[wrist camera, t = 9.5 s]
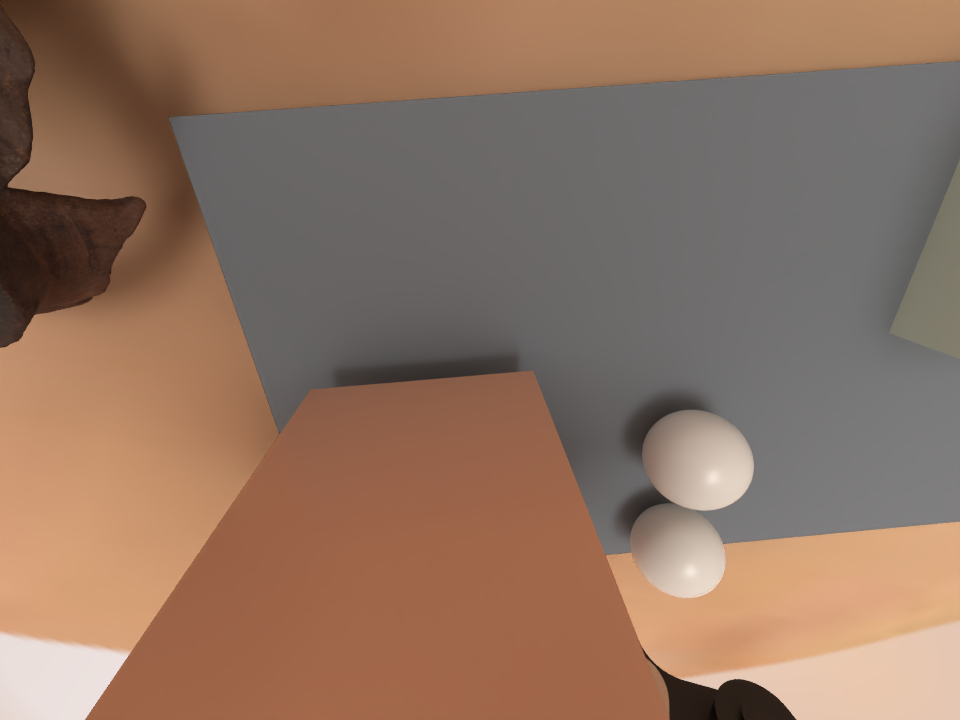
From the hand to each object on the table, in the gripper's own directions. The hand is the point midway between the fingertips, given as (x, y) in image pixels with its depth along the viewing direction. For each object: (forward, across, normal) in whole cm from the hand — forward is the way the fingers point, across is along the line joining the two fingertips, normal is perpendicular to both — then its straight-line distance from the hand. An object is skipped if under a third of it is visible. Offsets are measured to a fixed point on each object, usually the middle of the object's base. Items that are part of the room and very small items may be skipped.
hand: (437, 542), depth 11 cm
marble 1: (+3, -8, -1) cm, 9 cm away
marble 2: (+3, -8, +3) cm, 9 cm away
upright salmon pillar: (+1, 0, 0) cm, 1 cm away
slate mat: (+4, -10, -3) cm, 11 cm away
